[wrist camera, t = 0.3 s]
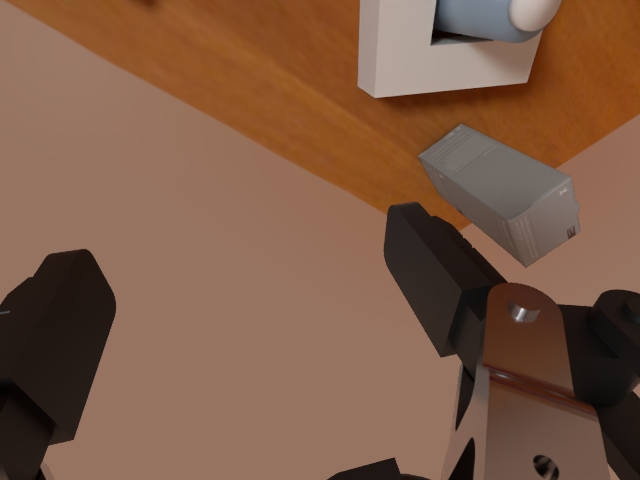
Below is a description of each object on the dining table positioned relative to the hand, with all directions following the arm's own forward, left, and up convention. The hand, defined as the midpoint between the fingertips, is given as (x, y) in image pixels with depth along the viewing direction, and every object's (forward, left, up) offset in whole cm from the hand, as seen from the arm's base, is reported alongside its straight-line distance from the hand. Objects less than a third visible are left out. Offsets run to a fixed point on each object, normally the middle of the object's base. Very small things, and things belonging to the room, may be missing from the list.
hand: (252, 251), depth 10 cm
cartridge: (-5, +20, -28) cm, 35 cm away
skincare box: (+12, +25, -29) cm, 40 cm away
